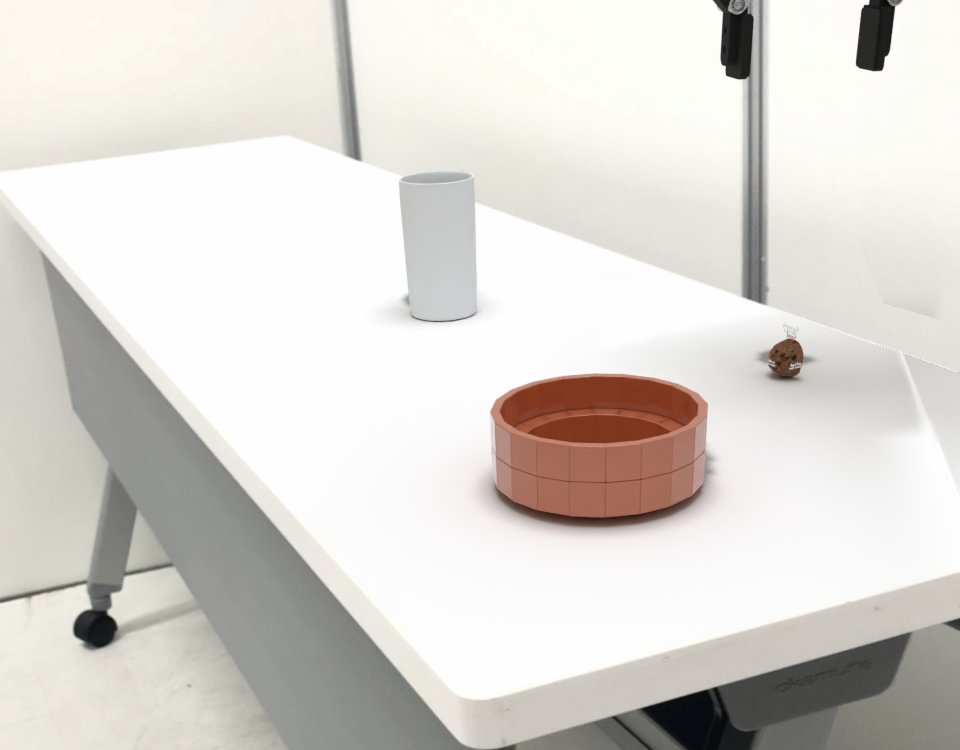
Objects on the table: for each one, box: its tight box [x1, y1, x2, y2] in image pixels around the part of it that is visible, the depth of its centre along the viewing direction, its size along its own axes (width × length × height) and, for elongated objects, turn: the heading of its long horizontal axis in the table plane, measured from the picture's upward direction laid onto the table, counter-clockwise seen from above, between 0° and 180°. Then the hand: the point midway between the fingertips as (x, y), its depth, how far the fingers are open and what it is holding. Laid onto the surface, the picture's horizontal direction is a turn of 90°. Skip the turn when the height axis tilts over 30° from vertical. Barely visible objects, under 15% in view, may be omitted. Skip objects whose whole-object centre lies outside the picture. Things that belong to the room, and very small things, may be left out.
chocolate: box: [766, 322, 805, 377], centre depth 92 cm, size 3×2×4 cm
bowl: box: [489, 372, 709, 519], centre depth 76 cm, size 13×13×5 cm
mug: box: [398, 170, 478, 322], centre depth 112 cm, size 10×7×12 cm, turn 164°
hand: (803, 73), depth 85 cm, fingers open, 9 cm apart
